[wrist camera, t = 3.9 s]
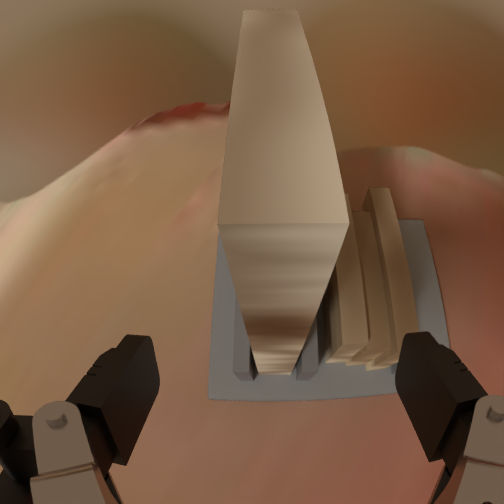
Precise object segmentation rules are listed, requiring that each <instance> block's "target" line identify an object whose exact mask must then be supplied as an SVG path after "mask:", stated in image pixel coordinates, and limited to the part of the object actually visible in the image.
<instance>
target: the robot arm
mask: <svg viewBox="0 0 504 504" xmlns="http://www.w3.org/2000/svg"><path fill="white" fill-rule="evenodd" d="M467 369H468V368H467V367H466V366H465V365H464V363H461V360H460V358H459V357H458V356H457V355H456V354H455V352H454V351H452V350H451V349H449V348H447V347H446V346H444V345H443V344H440V345H439V343H438V342H437V341H436V340H435V338H434V337H433V336H432V335H431V333H430V332H428V331H423V332H413V333H406V334H405V336H404V338H403V342H402V346H401V351H400V356H399V360H398V364H397V368H396V373H395V386H396V390H397V392H398V394H399V396H400V399H401V401H402V403H403V405H404V407H405V409H406V411H407V414H408V416H409V418H410V420H411V422H412V424H413V427H414V429H415V431H416V433H417V436H418V438H419V440H420V442H421V445H422V447H423V449H424V452H425V454H426V456H427V459H428V461H429V462H432V461H436V460H440V459H443V460H444V462H445V465H444V466H443V468H442V470H441V473H440V475H439V478H438V480H437V483H436V485H435V488H434V490H433V492H432V495H431V497H430V499H429V501H428V504H504V397H503V396H499V395H488V394H487V393H486V391H485V390H484V389H483V387H482V386H481V385H480V384H479V382H478V381H477V380H476V378H475V377H474V376H473V375H472V373H471V372H470V371H468V370H467ZM159 386H160V377H159V371H158V367H157V362H156V357H155V352H154V347H153V342H152V339H151V337H150V336H143V335H129V334H128V335H126V336H125V337H124V338H123V339H122V341H121V342H120V343H119V345H118V346H117V347H116V348H111V349H109V350H108V351H106V352H105V353H103V354H102V355H100V356H99V358H98V359H97V360H96V361H95V363H94V364H93V367H91V368H90V369H89V370H88V372H87V375H85V376H84V377H83V378H82V379H81V381H80V382H79V383H78V385H77V386H76V387H75V389H74V390H73V391H72V393H71V394H70V395H69V397H68V398H67V399H66V401H55V402H51V403H48V404H45V405H44V406H42V407H41V408H39V409H38V410H37V411H36V413H35V414H34V416H22V415H13V413H12V411H11V409H10V407H9V405H8V404H7V403H6V402H5V401H3V400H0V465H1V466H2V467H3V471H2V472H1V474H0V504H123V501H122V499H121V497H120V495H119V492H118V490H117V488H116V486H115V483H114V481H113V478H112V476H111V474H110V472H109V469H110V467H111V465H112V463H116V464H120V465H125V466H126V465H127V463H128V460H129V458H130V456H131V453H132V451H133V449H134V446H135V444H136V442H137V440H138V437H139V435H140V433H141V430H142V428H143V426H144V423H145V421H146V419H147V417H148V414H149V412H150V410H151V408H152V405H153V403H154V401H155V399H156V396H157V394H158V391H159Z"/></svg>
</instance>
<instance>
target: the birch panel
mask: <svg viewBox="0 0 504 504" xmlns="http://www.w3.org/2000/svg"><path fill="white" fill-rule="evenodd" d="M217 225H218V228H219V232H220V236H221V240H222V244H223V247H224V251H225V255H226V259H227V262H228V266H229V270H230V274H231V277H232V281H233V285H234V288H235V292H236V296H237V299H238V303H239V306H240V310H241V314H242V317H243V321H244V324H245V328H246V332H247V335H248V339H249V342H250V346H251V349H252V353H253V356H254V360H255V363H256V367H257V370H258V373H259V375H291V373H292V371H293V368H294V366H295V364H296V362H297V359H298V357H299V355H300V352H301V350H302V348H303V345H304V343H305V340H306V338H307V336H308V333H309V331H310V328H311V326H312V323H313V321H314V318H315V316H316V313H317V311H318V308H319V306H320V303H321V301H322V298H323V295H324V293H325V290H326V288H327V285H328V282H329V280H330V277H331V274H332V271H333V269H334V266H335V263H336V260H337V258H338V255H339V252H340V249H341V246H342V244H343V241H344V238H345V235H346V232H347V229H348V226H349V218H348V212H347V206H346V200H345V195H344V190H343V184H342V179H341V174H340V169H339V164H338V160H337V155H336V150H335V146H334V142H333V137H332V132H331V128H330V124H329V120H328V116H327V112H326V108H325V104H324V100H323V96H322V92H321V89H320V85H319V81H318V77H317V74H316V70H315V67H314V64H313V60H312V57H311V54H310V50H309V47H308V43H307V40H306V37H305V34H304V31H303V28H302V25H301V22H300V19H299V16H298V13H297V10H292V9H288V10H287V9H286V10H284V9H271V10H270V9H268V10H244V12H243V18H242V25H241V32H240V38H239V45H238V53H237V59H236V67H235V74H234V82H233V89H232V97H231V105H230V113H229V121H228V129H227V138H226V146H225V155H224V164H223V174H222V183H221V193H220V203H219V213H218V224H217Z"/></svg>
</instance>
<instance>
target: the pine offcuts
mask: <svg viewBox="0 0 504 504" xmlns="http://www.w3.org/2000/svg"><path fill="white" fill-rule="evenodd" d="M344 195H345V200H346V206H347V212H348V218H349V226H348V229H347V232H346V235H345V238H344V241H343V244H342V246H341V249H340V252H339V255H338V258H337V260H336V263H335V266H334V269H333V271H332V274H331V277H330V280H329V282H328V285H327V288H326V290H325V293H324V295H323V298H322V306H323V324H324V344H325V363H339V362H346V366H351V365H365V367H366V371H367V370H378V369H385V368H387V367H389V366H391V365H393V364H395V363H397V362H398V360H399V356H400V351H401V346H402V342H403V338H404V336H405V334H406V333H413V332H419V327H418V320H417V313H416V306H415V300H414V294H413V289H412V283H411V278H410V273H409V268H408V263H407V258H406V253H405V249H404V244H403V240H402V236H401V231H400V227H399V223H398V219H397V215H396V211H395V208H394V204H393V200H392V197H391V193H390V190H389V188H380V187H369V189H368V192H367V195H366V198H365V201H364V204H363V207H362V210H361V211H351V207H350V201H349V196H348V193H344Z"/></svg>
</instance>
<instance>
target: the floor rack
mask: <svg viewBox="0 0 504 504" xmlns="http://www.w3.org/2000/svg"><path fill="white" fill-rule="evenodd" d="M398 223H399V227H400V231H401V236H402V240H403V244H404V249H405V253H406V258H407V263H408V268H409V273H410V278H411V283H412V289H413V294H414V300H415V306H416V313H417V320H418V327H419V332H423V331H428V332H430V333H431V335H432V336H433V337H434V338H435V340H436V341H437V342H438V343H439V345H440V344H443V345H444V346H446V347H447V348H449V349H450V347H449V340H448V333H447V326H446V320H445V314H444V309H443V303H442V298H441V293H440V288H439V283H438V278H437V274H436V269H435V265H434V261H433V257H432V253H431V249H430V245H429V241H428V237H427V234H426V230H425V226H424V223H423V220H401V219H398ZM397 364H398V362H397V363H395V364H393V365H391V366H389V367H387V368H385V369H378V370H367V371H366V367H365V365H351V366H346V362H339V363H325V344H324V324H323V306H322V301H321V303H320V306H319V308H318V311H317V313H316V316H315V318H314V321H313V323H312V326H311V328H310V331H309V333H308V336H307V338H306V340H305V343H304V345H303V348H302V350H301V352H300V355H299V357H298V359H297V362H296V364H295V366H294V368H293V371H292V373H291V375H259V373H258V370H257V367H256V363H255V360H254V356H253V353H252V349H251V346H250V342H249V339H248V335H247V332H246V328H245V324H244V321H243V317H242V314H241V310H240V306H239V303H238V299H237V296H236V292H235V288H234V285H233V281H232V277H231V274H230V270H229V266H228V262H227V259H226V255H225V251H224V247H223V244H222V240H221V236H220V232H219V236H218V248H217V260H216V273H215V286H214V300H213V314H212V330H211V346H210V364H209V383H208V399H211V400H229V401H309V400H329V399H344V398H356V397H366V396H376V395H385V394H393V393H398V392H397V390H396V386H395V373H396V368H397Z"/></svg>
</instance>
